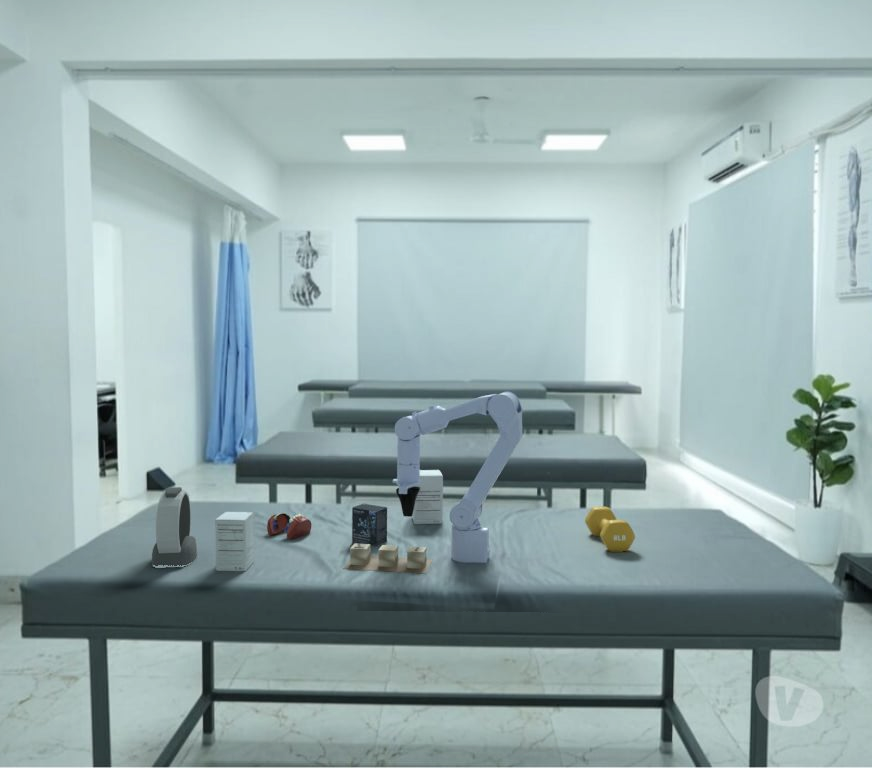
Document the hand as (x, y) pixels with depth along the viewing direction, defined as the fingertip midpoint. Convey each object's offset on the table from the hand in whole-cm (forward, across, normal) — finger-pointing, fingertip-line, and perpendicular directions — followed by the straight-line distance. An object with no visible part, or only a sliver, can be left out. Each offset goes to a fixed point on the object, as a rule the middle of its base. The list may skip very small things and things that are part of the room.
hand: (407, 515), depth 173 cm
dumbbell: (+10, -21, +52) cm, 57 cm away
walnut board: (+10, +10, -3) cm, 15 cm away
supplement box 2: (+11, -35, -1) cm, 37 cm away
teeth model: (+11, -14, -37) cm, 41 cm away
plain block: (+9, +10, -3) cm, 14 cm away
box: (+11, -7, -12) cm, 17 cm away
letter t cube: (+10, +10, -10) cm, 17 cm away
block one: (+9, +10, +4) cm, 14 cm away
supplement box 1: (+11, +15, -40) cm, 44 cm away
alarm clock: (+11, +13, -57) cm, 59 cm away
